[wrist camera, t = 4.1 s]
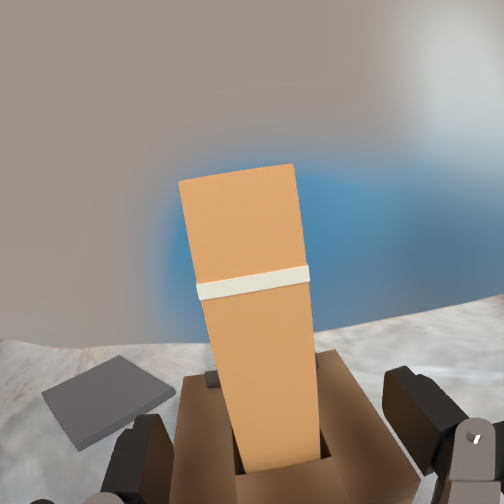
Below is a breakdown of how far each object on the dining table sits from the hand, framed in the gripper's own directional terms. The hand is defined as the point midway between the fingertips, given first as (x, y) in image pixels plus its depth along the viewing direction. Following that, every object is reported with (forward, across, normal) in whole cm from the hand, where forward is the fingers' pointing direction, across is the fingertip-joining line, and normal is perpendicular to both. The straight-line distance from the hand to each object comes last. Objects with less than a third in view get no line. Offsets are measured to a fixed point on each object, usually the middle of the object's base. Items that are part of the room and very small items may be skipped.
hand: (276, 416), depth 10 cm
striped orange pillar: (+6, 0, +10) cm, 11 cm away
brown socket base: (+6, 0, +10) cm, 11 cm away
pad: (+16, +16, +10) cm, 24 cm away
